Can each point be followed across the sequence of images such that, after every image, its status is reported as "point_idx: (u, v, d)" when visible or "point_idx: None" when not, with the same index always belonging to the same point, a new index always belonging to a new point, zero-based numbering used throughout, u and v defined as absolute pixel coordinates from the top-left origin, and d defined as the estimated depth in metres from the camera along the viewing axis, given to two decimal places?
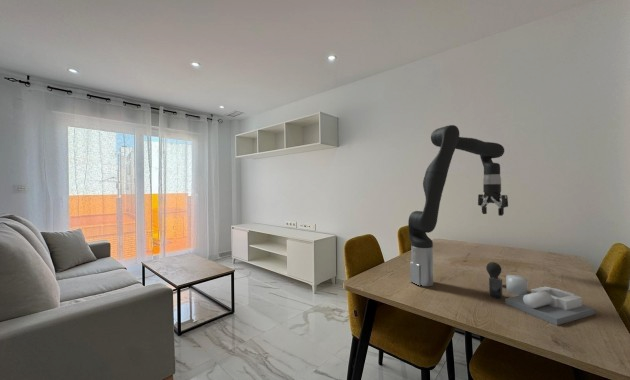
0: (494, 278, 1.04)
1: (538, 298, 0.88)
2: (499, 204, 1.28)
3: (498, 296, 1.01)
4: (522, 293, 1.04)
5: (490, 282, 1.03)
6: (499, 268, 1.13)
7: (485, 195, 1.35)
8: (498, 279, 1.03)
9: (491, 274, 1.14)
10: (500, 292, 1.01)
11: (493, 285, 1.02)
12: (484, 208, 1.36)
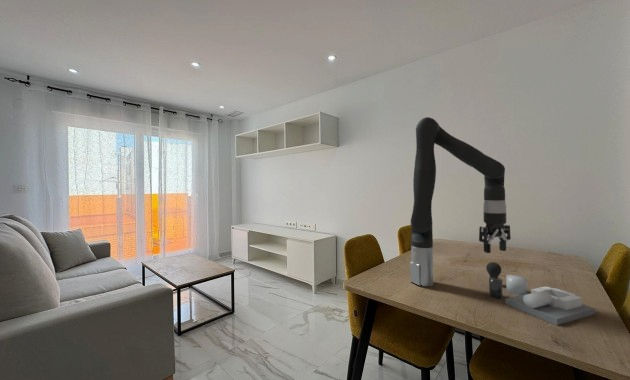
0: (494, 278, 1.04)
1: (538, 298, 0.88)
2: (505, 237, 1.04)
3: (498, 296, 1.01)
4: (522, 293, 1.04)
5: (490, 282, 1.03)
6: (499, 268, 1.13)
7: (492, 227, 1.01)
8: (498, 279, 1.03)
9: (491, 274, 1.14)
10: (500, 292, 1.01)
11: (493, 285, 1.02)
12: None
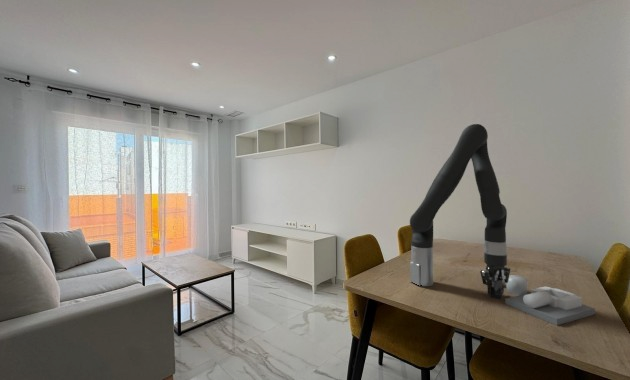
0: None
1: (538, 298, 0.88)
2: (504, 280, 1.03)
3: (498, 296, 1.01)
4: (522, 293, 1.04)
5: None
6: None
7: (492, 269, 1.01)
8: (498, 279, 1.03)
9: None
10: (500, 292, 1.01)
11: None
12: None
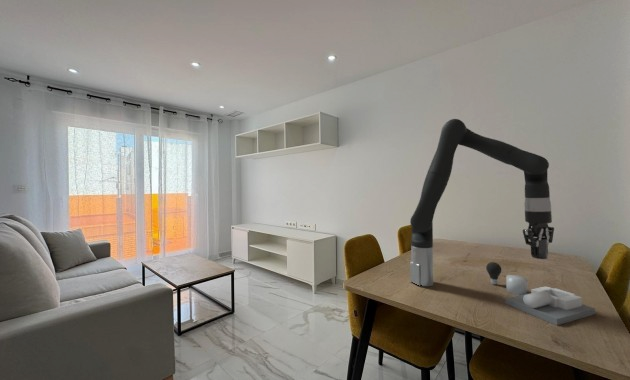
0: None
1: (538, 298, 0.88)
2: (548, 240, 0.96)
3: (543, 256, 0.94)
4: (522, 293, 1.04)
5: None
6: (499, 268, 1.13)
7: (536, 227, 0.94)
8: (542, 238, 0.95)
9: (491, 274, 1.14)
10: (545, 252, 0.94)
11: None
12: None
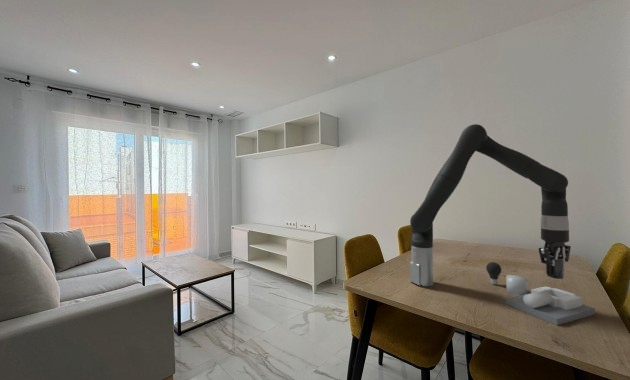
0: None
1: (538, 298, 0.88)
2: (564, 259, 0.93)
3: (559, 276, 0.91)
4: (522, 293, 1.04)
5: None
6: (499, 268, 1.13)
7: (553, 246, 0.91)
8: (558, 257, 0.93)
9: (491, 274, 1.14)
10: (561, 271, 0.91)
11: None
12: None
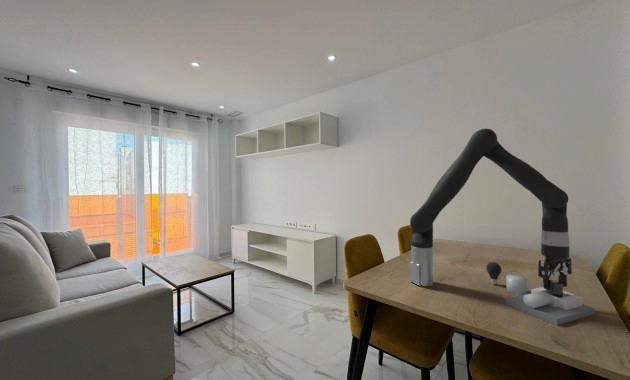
0: (553, 281, 0.94)
1: (538, 298, 0.88)
2: (566, 271, 0.94)
3: None
4: (522, 293, 1.04)
5: None
6: (499, 268, 1.13)
7: (553, 262, 0.91)
8: (558, 282, 0.93)
9: (491, 274, 1.14)
10: (561, 297, 0.91)
11: (553, 289, 0.92)
12: None
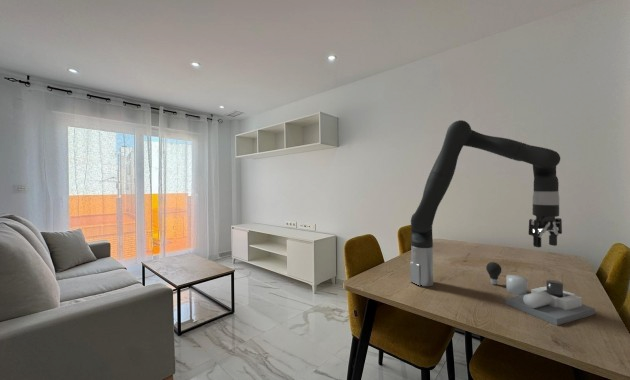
0: (553, 281, 0.94)
1: (538, 298, 0.88)
2: (557, 231, 0.97)
3: None
4: (522, 293, 1.04)
5: (549, 286, 0.93)
6: (499, 268, 1.13)
7: (543, 220, 0.95)
8: (558, 282, 0.93)
9: (491, 274, 1.14)
10: (561, 297, 0.91)
11: (553, 289, 0.92)
12: None
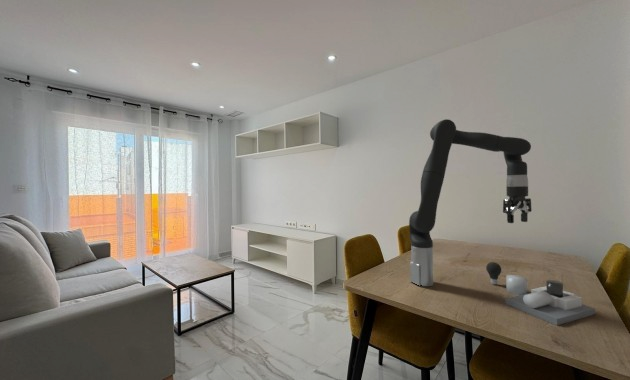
0: (553, 281, 0.94)
1: (538, 298, 0.88)
2: (527, 209, 1.13)
3: None
4: (522, 293, 1.04)
5: (549, 286, 0.93)
6: (499, 268, 1.13)
7: (515, 200, 1.11)
8: (558, 282, 0.93)
9: (491, 274, 1.14)
10: (561, 297, 0.91)
11: (553, 289, 0.92)
12: None
